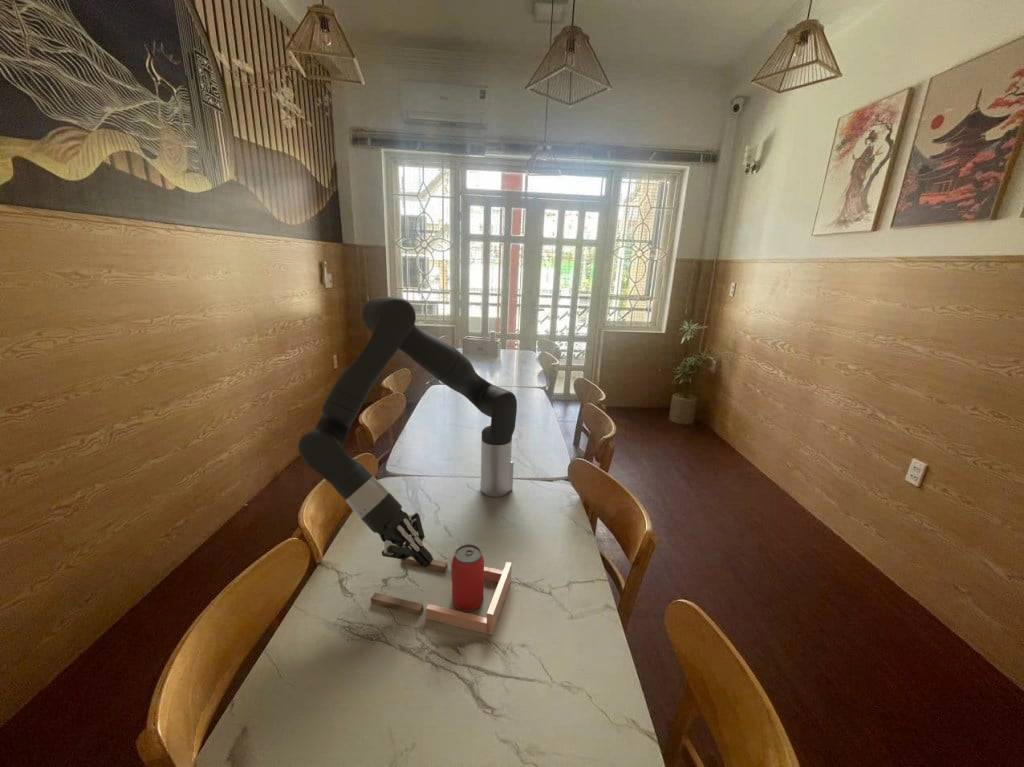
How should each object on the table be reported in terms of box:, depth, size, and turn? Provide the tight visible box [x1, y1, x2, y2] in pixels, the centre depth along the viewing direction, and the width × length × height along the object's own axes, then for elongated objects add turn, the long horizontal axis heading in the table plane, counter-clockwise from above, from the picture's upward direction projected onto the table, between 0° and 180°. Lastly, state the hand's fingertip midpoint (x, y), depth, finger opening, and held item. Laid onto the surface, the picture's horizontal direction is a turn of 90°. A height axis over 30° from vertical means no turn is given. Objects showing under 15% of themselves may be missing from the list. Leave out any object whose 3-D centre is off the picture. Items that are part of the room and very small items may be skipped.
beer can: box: [451, 543, 485, 612], centre depth 85 cm, size 7×7×12 cm
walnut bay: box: [370, 557, 449, 617], centre depth 90 cm, size 11×14×2 cm
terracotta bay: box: [425, 561, 513, 636], centre depth 86 cm, size 14×14×5 cm
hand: (429, 563), depth 87 cm, fingers closed
